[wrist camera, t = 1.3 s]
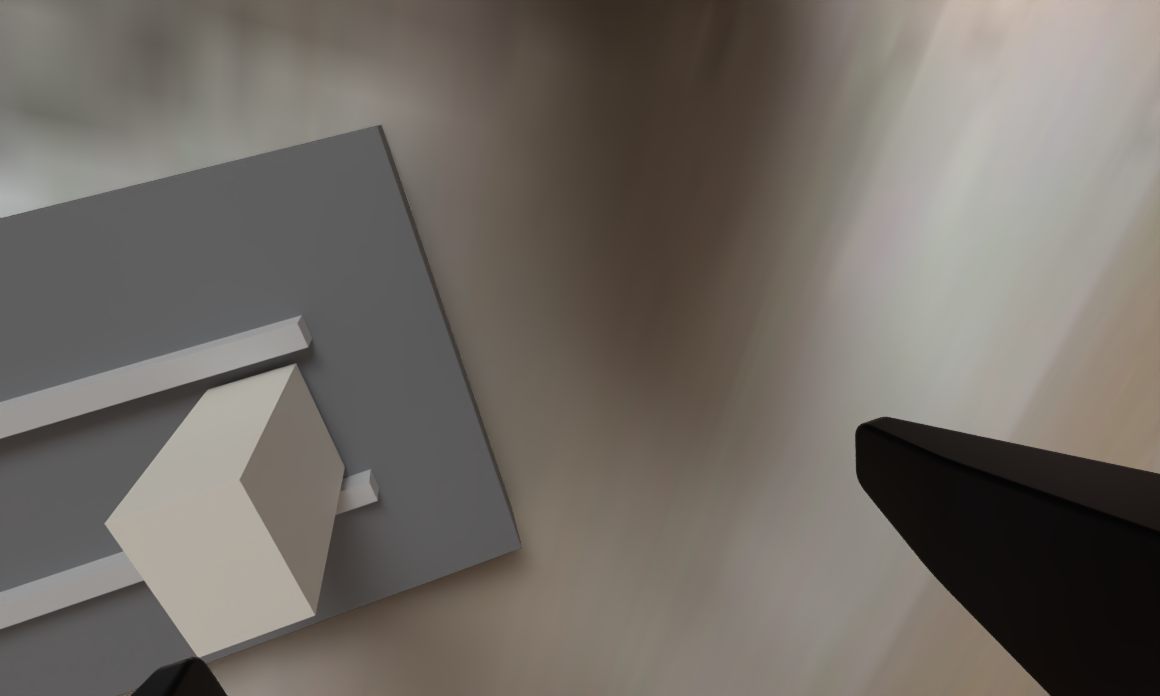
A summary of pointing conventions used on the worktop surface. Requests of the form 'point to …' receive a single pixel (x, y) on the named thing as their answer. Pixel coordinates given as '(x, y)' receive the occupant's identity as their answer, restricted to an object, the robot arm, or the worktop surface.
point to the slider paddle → (236, 512)
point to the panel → (210, 359)
